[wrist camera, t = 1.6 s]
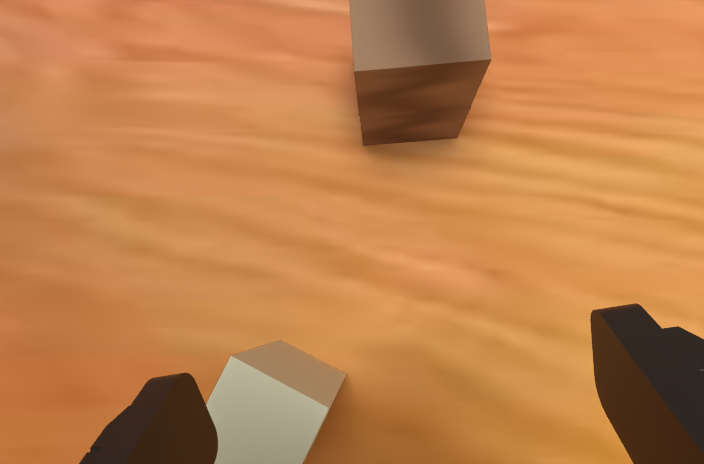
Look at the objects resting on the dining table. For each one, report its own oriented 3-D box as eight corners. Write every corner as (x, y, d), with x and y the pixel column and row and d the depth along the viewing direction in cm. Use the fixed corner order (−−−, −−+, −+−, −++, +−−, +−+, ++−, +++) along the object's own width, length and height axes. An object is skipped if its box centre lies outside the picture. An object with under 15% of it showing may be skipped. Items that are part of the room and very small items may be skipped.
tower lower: (363, 145, 31) (359, 115, 26) (356, 59, 32) (352, 14, 27) (456, 138, 31) (471, 105, 26) (447, 51, 32) (460, 4, 27)
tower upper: (358, 115, 26) (354, 71, 21) (352, 14, 27) (345, -50, 22) (470, 106, 26) (491, 59, 21) (459, 4, 27) (477, -64, 22)
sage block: (312, 444, 29) (276, 516, 19) (246, 408, 29) (177, 459, 19) (346, 374, 29) (329, 408, 19) (280, 339, 30) (230, 355, 20)
